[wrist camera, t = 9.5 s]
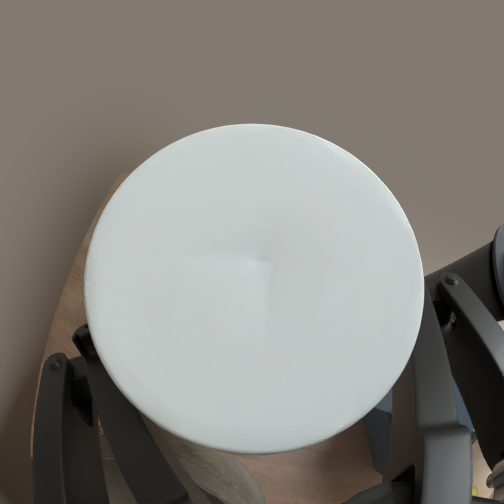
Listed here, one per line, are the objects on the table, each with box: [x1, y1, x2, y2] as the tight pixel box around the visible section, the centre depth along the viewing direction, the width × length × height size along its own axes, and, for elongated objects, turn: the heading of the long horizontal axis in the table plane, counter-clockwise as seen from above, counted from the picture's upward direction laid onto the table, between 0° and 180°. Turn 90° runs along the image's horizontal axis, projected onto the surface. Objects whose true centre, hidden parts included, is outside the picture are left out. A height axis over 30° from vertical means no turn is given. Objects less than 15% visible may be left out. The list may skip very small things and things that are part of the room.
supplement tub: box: [84, 124, 424, 455], centre depth 13 cm, size 10×10×15 cm
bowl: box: [99, 424, 265, 504], centre depth 18 cm, size 21×21×15 cm
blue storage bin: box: [363, 377, 477, 476], centre depth 24 cm, size 13×13×10 cm
